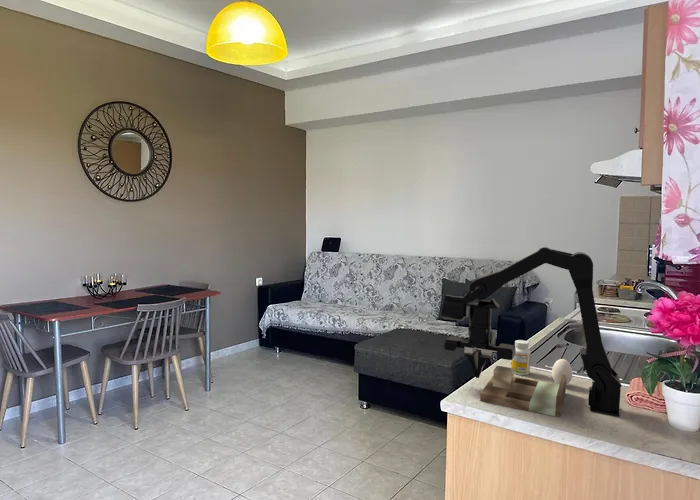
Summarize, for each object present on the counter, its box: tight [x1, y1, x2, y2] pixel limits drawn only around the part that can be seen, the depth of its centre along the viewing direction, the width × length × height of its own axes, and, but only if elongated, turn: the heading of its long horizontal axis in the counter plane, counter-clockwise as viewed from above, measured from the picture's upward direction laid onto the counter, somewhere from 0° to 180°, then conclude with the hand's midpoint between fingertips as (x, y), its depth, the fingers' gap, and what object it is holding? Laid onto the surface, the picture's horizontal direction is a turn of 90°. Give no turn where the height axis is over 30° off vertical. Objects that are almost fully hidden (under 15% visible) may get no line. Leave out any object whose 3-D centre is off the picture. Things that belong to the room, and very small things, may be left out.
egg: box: [551, 358, 573, 386], centre depth 136 cm, size 5×5×8 cm
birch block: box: [492, 365, 515, 390], centre depth 129 cm, size 4×4×4 cm
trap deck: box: [479, 375, 567, 418], centre depth 126 cm, size 19×18×5 cm
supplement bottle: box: [510, 339, 532, 376], centre depth 146 cm, size 5×5×10 cm
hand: (477, 377), depth 132 cm, fingers closed
